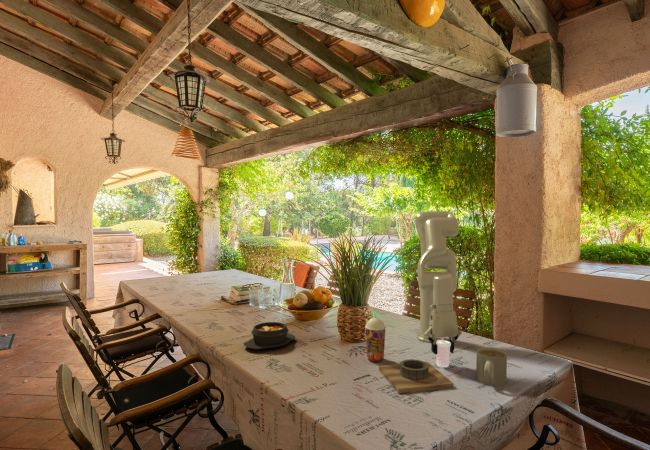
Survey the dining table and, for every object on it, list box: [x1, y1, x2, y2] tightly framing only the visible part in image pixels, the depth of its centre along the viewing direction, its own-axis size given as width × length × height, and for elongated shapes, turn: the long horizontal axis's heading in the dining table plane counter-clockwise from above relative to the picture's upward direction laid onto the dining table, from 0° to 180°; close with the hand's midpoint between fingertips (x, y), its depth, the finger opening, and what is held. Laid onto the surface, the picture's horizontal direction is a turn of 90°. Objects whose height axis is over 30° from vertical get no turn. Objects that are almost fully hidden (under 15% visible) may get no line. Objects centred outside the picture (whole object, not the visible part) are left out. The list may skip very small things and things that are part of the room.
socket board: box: [378, 358, 454, 394], centre depth 144 cm, size 20×20×5 cm
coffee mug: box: [475, 347, 508, 387], centre depth 141 cm, size 13×10×10 cm
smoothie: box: [364, 310, 387, 363], centre depth 161 cm, size 8×8×20 cm
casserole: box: [243, 321, 296, 350], centre depth 181 cm, size 25×19×8 cm
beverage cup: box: [435, 338, 451, 368], centre depth 155 cm, size 6×6×14 cm
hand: (442, 352), depth 156 cm, fingers closed on beverage cup, 6 cm apart
